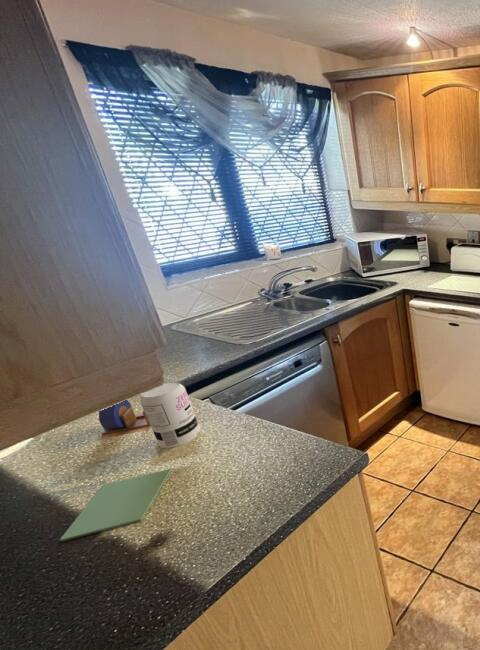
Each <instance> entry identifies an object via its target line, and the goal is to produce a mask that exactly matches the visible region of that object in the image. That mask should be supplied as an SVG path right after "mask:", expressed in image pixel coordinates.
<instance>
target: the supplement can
mask: <svg viewBox="0 0 480 650" xmlns="http://www.w3.org/2000/svg"><path fill="white" fill-rule="evenodd" d="M163 382H164V384H163V386H161V387H158V388H155V389H153V390H151V391H148V392H145V393H142V392H141V395H140V400H139V403H140V405H141V407H142V409H143V411H144V412H145V414H146V416H147V419H148V421H149V423H150V425H151V426H150V428H151V430H152V433H153V435H154V437H155V439H156V441H157V444H158V446H159V447H160V448H163V449H170V448H171V449H172V448H176V447H179V446H181V445H182V446H183V445H185V444H187V443H189V442H191V441H192V440H194V439H195V438H196V437H197V436H198V435H199V434H200V433H201V426H200V423H199V421H198V419H197V416H196V413H195V410H194V408H193V405H192V403H191V400H190V398H189V395H188V392H187V389H186V387H185V386H184V385H183V384H181V383H180V382H179V381H175V380H169V381H168V380H167V381H163Z"/></svg>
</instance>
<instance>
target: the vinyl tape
mask: <svg viewBox="0 0 480 650" xmlns="http://www.w3.org/2000/svg"><path fill="white" fill-rule="evenodd" d="M129 407H132V404H131V403H130V401H129V400H128V399H126V400H125V401H123V402H121V403H119V404H116V405H113V406H112V407H109V408H107V409H104V410H102V411H98V420H99V423H100V426H101V427H102V428H103V429H106V430H113V429H118V428H124V427H126V425H125V423H124V421H123V419H122V415H123V414H124V413H125V412H126V410H127V409H128V408H129Z"/></svg>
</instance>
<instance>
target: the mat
mask: <svg viewBox="0 0 480 650" xmlns="http://www.w3.org/2000/svg"><path fill="white" fill-rule="evenodd" d="M171 472H172V469H171V468H169V469H165V470H160V471H155V472H152V473H147V474H143V475H139V476H134V477H129V478H126V479H121V480H116V481H112V482H109V483H104V484H102V485H101V486H100V487H99V489H98V490H97V491H96V493H95V494H94V495H93V496H92V498H91V499H90V500H89V502H88V503H87V504H86V505H85V506H84V508H83V509H82V510H81V512H80V513H79V514H78V515H77V517H76V518H75V519H74V521H73V522H72V523H71V524H70V525H69V527H68V528H67V530H66V531H65V532H64V534H62V536H61V537H60V539H59V542H60V543H62V542H65V541H69V540H73V539H77V538H80V537H84V536H89V535H92V534H96V533H97V534H98V533H100V532H103V531H104V532H105V531H107V530H112V529H116V528H119V527H124V526H127V525H130V524H134V523H135V524H136V523H139V522H142V521H143V519H144V518H145V516H146V515H147V512H148V511H149V508H151V506H152V504H153V502H154V501H155V499H156V497H157V495H158V494H159V492H160V491H161V488H162V487H163V486H164V484H165V482H166V481H167V479H168V477H169V476H170V474H171Z"/></svg>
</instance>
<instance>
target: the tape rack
mask: <svg viewBox="0 0 480 650" xmlns="http://www.w3.org/2000/svg"><path fill="white" fill-rule="evenodd" d="M122 419H123V421H124V423H125V425H126V427H124V428H118V429H113V430H106V429H104V428H103V429H104V432H101V436H100V437H99V438H98V440H99V441H100V440H104V439H108V438H113V437H118V436H124V435H129V434H135V433H139V432H144V431H148V430H149V429H150V428H151V425H150V423H149V421H148V419H147V416H146V414H145V412H144V410H143V411H142V413H141V414H135V411H134V409H133V407H132V406H131V407H129V408H128V409H127V410H126V412H125V413H124V414H123V415H122Z"/></svg>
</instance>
